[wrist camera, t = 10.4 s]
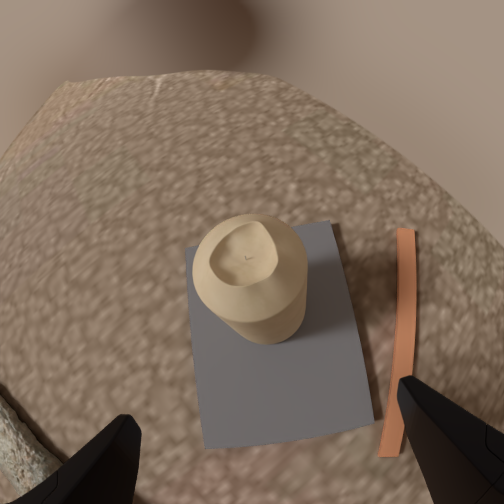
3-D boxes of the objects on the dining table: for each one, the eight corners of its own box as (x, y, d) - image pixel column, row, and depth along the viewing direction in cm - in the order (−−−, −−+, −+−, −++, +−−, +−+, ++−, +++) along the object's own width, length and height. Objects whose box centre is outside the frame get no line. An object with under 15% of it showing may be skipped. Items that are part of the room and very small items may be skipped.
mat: (372, 421, 18) (374, 423, 17) (208, 446, 19) (205, 448, 18) (328, 224, 25) (329, 219, 24) (188, 252, 26) (185, 248, 25)
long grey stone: (-12, 349, 27) (-24, 405, 24) (-42, 340, 22) (-53, 401, 20) (208, 549, 15) (172, 597, 12) (181, 579, 10) (146, 622, 7)
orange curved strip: (396, 455, 17) (398, 456, 16) (377, 455, 17) (379, 456, 16) (412, 232, 23) (414, 229, 23) (396, 230, 24) (397, 227, 23)
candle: (253, 260, 24) (224, 182, 15) (318, 292, 22) (329, 225, 13) (216, 322, 22) (158, 277, 13) (282, 359, 20) (267, 340, 11)
